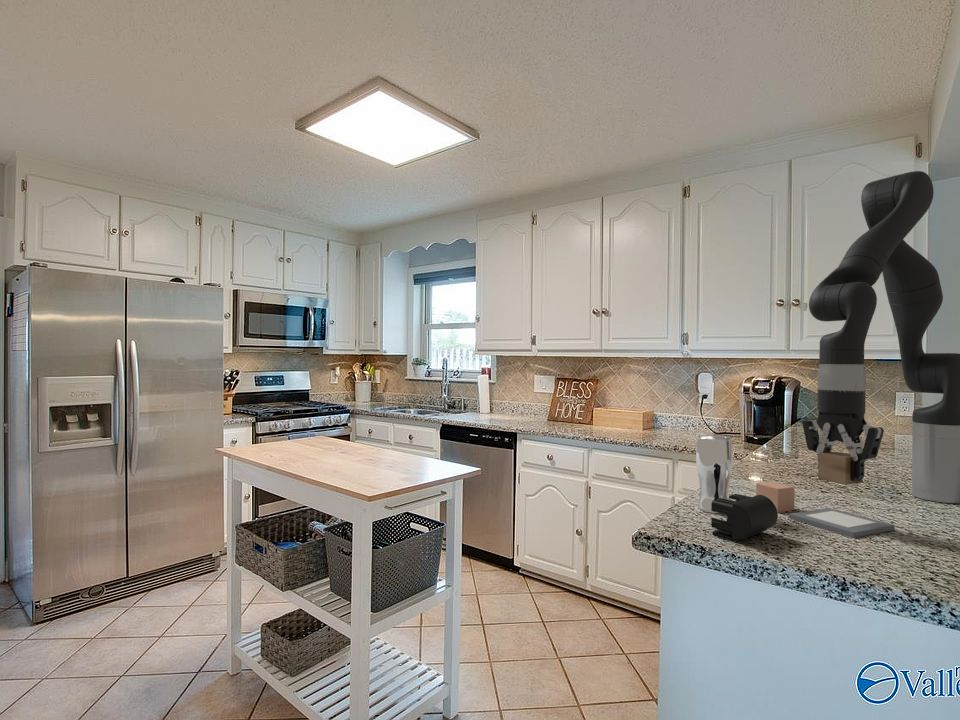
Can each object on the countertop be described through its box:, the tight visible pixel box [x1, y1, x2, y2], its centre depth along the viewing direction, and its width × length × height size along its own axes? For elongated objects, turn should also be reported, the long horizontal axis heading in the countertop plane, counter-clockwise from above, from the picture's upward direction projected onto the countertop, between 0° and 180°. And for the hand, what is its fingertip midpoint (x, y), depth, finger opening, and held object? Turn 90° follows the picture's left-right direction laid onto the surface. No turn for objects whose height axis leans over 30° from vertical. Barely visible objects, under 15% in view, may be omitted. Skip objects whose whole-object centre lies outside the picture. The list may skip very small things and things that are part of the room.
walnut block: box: [817, 451, 864, 486], centre depth 98 cm, size 5×5×5 cm
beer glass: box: [695, 434, 734, 515], centre depth 107 cm, size 7×7×15 cm
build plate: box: [788, 507, 896, 539], centre depth 98 cm, size 12×12×1 cm
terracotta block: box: [755, 481, 796, 513], centre depth 109 cm, size 5×5×5 cm
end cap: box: [710, 493, 779, 543], centre depth 91 cm, size 10×7×7 cm
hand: (840, 477), depth 98 cm, fingers closed on walnut block, 5 cm apart
